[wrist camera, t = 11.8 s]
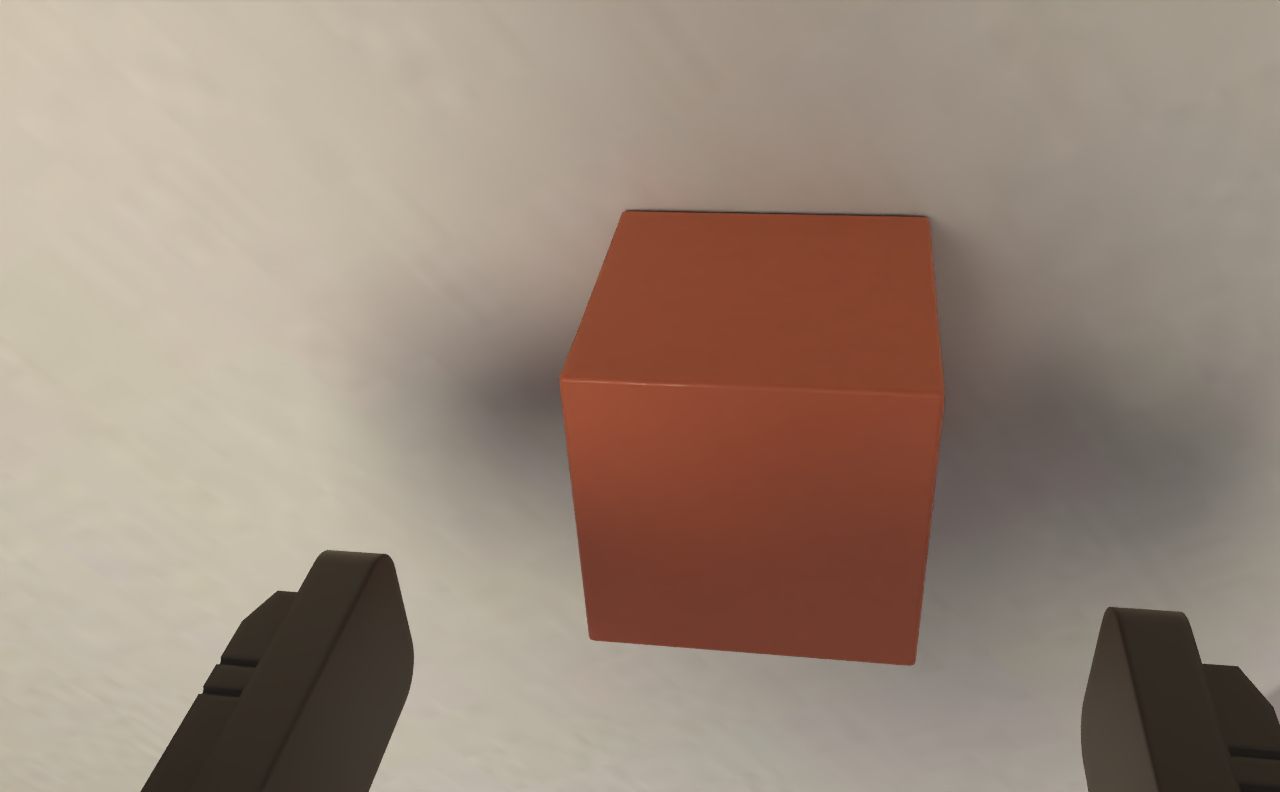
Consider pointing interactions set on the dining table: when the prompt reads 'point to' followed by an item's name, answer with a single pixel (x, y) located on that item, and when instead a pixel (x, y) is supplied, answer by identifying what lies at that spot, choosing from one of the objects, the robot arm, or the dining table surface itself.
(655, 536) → the block
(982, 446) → the dining table surface
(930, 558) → the dining table surface
